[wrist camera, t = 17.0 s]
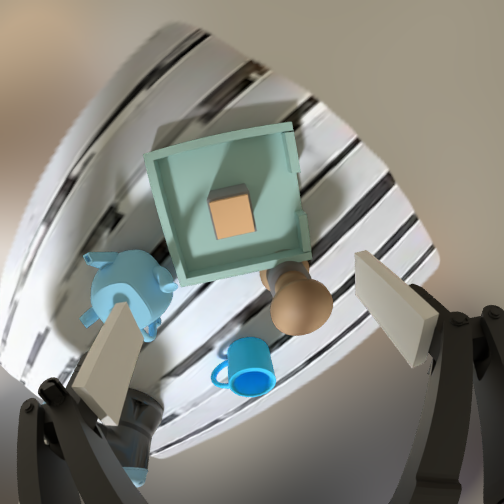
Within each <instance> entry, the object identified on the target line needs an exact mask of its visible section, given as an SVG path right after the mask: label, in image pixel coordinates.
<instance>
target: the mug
mask: <svg viewBox="0 0 504 504" xmlns="http://www.w3.org/2000/svg"><path fill="white" fill-rule="evenodd" d="M227 358H228V360H226V361H224V362H222V363H221V364H219V365H218V366H217V367H216V368H215V369H214V370H213V372H212V374H211V380H212V383H213V384H214V385H215V386H217V387H220V388H227V389H229V388H230V390H231V391H233V392H234V393H235V394H237V395H239V396H243V397H257V396H261V395H263V394H266V393H268V392H269V391H270V390H272V389H273V387H274V386H275V383H276V378H275V373H274V369H273V365H272V360H271V356H270V351H269V347H268V345H267V344H266V342H264V341H263V340H261V339H259V338H255V337H245V338H240V339H238V340H236V341H234V342H233V343H232V344H231V345H230V346H229V348H228V353H227ZM227 365H228V381H229V383H227V384H226V383H219V382H218V381H217V380H216V377H217V374H218V373H219V371H221V370H222V369H223V368H224V367H226V366H227Z"/></svg>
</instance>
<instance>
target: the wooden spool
mask: <svg viewBox="0 0 504 504" xmlns="http://www.w3.org/2000/svg"><path fill="white" fill-rule="evenodd" d="M282 250H284V249H282ZM285 250H286V249H285ZM285 250H284V251H285ZM288 250H291V249H288ZM276 252H279V250H278V251H276ZM260 277H261V281H262V283H263V285H264V286H265V287H266V288H267V289H268V290H269V291H271V294H272V296H273V299H272V302H271V306H270V314H271V317H272V321H273V323H274V325H275V326H276V328H277V329H278V330H280V331H281V332H283V333H285V334H288V335H294V336H299V335H305V334H309V333H311V332H313V331H315V330H317V329H318V328H320V327H321V326H322V325H323V324H324V323H325V322H326V321H327V320H328V318H329V316H330V314H331V312H332V308H333V300H332V296H331V294H330V292H329V291H328V290H327V288H326V287H325V286H324V285H323V284H322V283H321V282H319V281H316V280H313V279H311V276H310V274H309V264H308V261H302V262H296V261H285V262H282V263H280V264H278V265H277V266H276V267H275V268H271V269H266V270H262V271H260Z"/></svg>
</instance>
